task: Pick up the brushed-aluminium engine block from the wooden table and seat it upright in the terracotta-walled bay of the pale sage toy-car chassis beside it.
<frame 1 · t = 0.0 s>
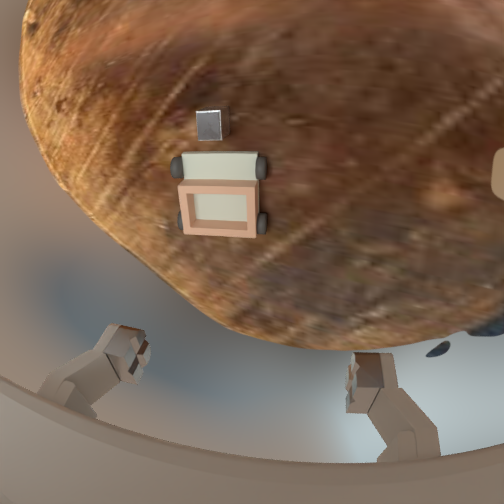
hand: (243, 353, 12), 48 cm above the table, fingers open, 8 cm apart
chassis: (222, 191, 61), on the table
engine block: (218, 119, 53), on the table
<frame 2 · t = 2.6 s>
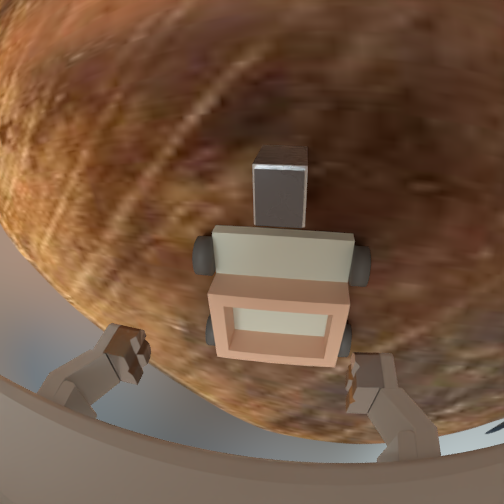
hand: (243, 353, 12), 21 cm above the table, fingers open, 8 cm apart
chassis: (281, 290, 36), on the table
engine block: (285, 171, 29), on the table
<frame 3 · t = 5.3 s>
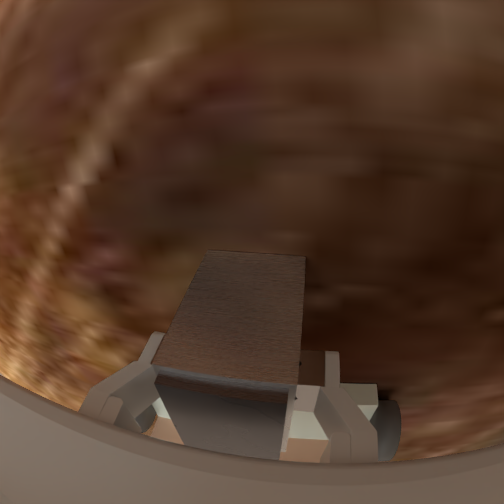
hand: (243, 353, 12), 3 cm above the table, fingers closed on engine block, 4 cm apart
chassis: (258, 432, 22), on the table
engine block: (256, 300, 14), on the table, touching gripper
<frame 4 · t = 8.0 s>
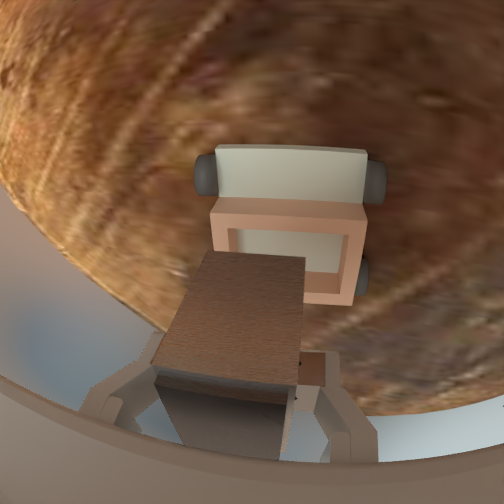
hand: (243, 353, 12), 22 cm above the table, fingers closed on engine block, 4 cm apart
chassis: (290, 219, 33), on the table
engine block: (256, 300, 14), point 19 cm above the table, touching gripper
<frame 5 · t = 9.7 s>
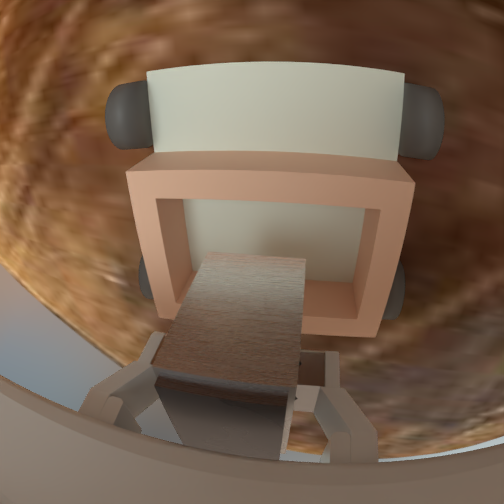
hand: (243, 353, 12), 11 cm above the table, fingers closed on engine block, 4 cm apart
chassis: (274, 191, 20), on the table
engine block: (256, 301, 14), point 8 cm above the table, touching gripper
when the fingers open (6 cm above the table, at t = 11.2 s): engine block stays where it is, resting on chassis.
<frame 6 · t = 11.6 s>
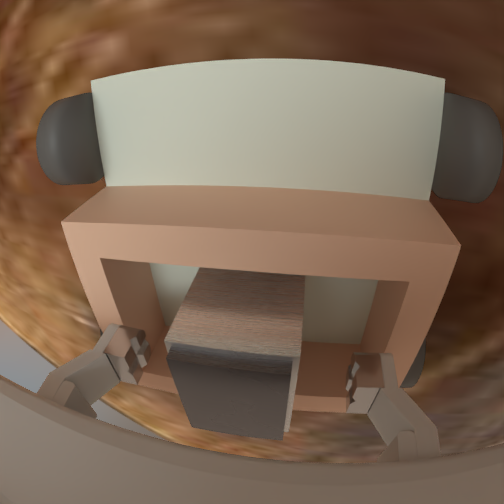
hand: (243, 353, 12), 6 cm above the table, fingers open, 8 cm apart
chassis: (263, 234, 15), on the table
engine block: (260, 287, 15), point 1 cm above the table, touching chassis
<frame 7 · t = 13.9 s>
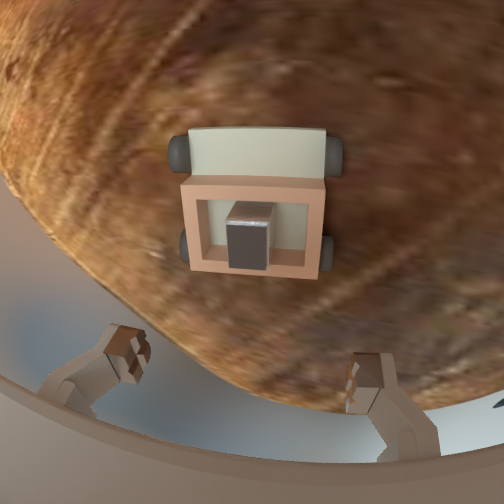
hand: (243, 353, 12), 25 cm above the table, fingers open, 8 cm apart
chassis: (258, 197, 35), on the table
engine block: (256, 219, 35), point 1 cm above the table, touching chassis
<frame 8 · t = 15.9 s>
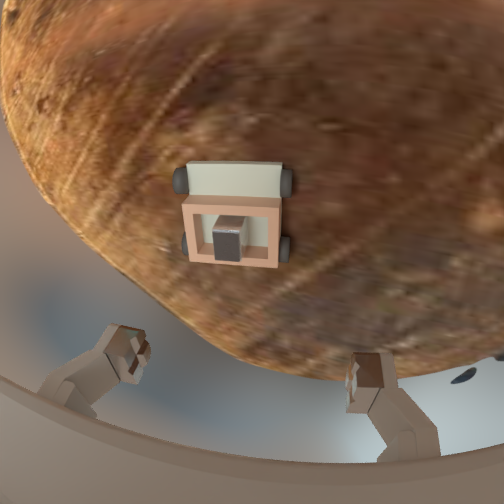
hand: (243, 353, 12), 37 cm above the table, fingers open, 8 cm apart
chassis: (236, 209, 50), on the table
engine block: (235, 225, 50), point 1 cm above the table, touching chassis
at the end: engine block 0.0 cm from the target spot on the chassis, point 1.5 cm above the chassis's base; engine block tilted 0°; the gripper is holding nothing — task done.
